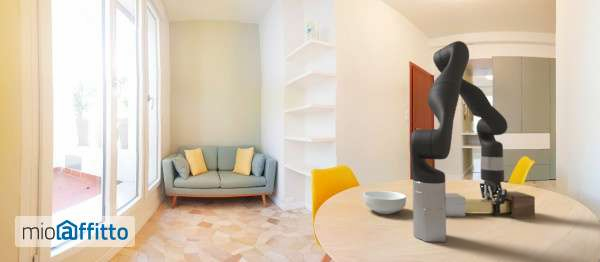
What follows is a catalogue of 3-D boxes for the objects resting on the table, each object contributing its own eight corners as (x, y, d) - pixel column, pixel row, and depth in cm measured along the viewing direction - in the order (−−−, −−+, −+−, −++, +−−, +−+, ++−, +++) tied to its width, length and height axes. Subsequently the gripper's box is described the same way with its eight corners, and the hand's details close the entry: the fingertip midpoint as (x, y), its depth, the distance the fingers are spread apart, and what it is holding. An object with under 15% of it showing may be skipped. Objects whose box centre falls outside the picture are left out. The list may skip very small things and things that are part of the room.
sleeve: (465, 216, 106) (465, 197, 106) (424, 215, 107) (424, 197, 107) (456, 211, 113) (456, 193, 113) (418, 210, 114) (418, 193, 114)
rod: (515, 212, 106) (515, 202, 106) (449, 211, 108) (449, 201, 108) (508, 209, 110) (508, 199, 110) (445, 209, 112) (444, 198, 112)
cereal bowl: (413, 217, 105) (412, 199, 106) (368, 218, 106) (368, 199, 106) (398, 206, 122) (397, 189, 122) (360, 206, 123) (359, 190, 123)
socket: (534, 218, 103) (534, 196, 103) (514, 218, 104) (514, 196, 104) (518, 211, 112) (517, 191, 112) (499, 211, 113) (499, 191, 113)
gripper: (514, 170, 101) (515, 218, 101) (491, 166, 115) (492, 207, 115) (493, 170, 102) (493, 217, 102) (472, 166, 116) (473, 207, 116)
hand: (492, 212), depth 109 cm, fingers closed on rod, 4 cm apart
